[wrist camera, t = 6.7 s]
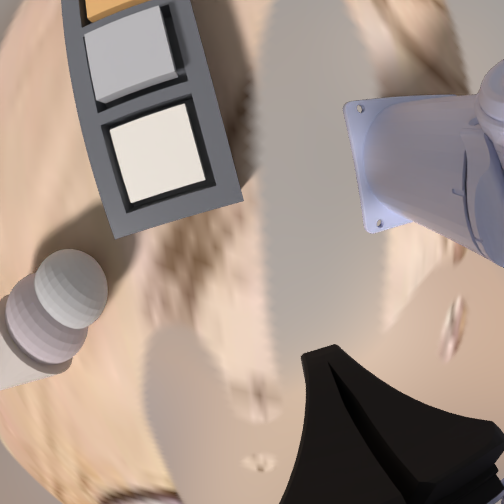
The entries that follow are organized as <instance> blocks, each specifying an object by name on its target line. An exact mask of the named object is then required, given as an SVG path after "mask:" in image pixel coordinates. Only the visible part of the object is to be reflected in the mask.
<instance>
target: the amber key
mask: <svg viewBox="0 0 504 504" xmlns="http://www.w3.org/2000/svg"><path fill="white" fill-rule="evenodd" d="M85 1H86V10H87V18H88V19H89V20H90V21H91V22H92V23H94V22H96V21H98V20H100V19H103V18H105V17H107V16H110V15H112V14H114V13H117V12H119V11H122V10H125V9H127V8H130V7H133V6H135V5H138V4H141V3H144V2H147V1H150V0H85Z"/></svg>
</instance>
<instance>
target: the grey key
mask: <svg viewBox="0 0 504 504" xmlns="http://www.w3.org/2000/svg"><path fill="white" fill-rule="evenodd" d="M84 36H85V43H86V49H87V55H88V61H89V66H90V72H91V77H92V82H93V87H94V91H95V96H96V100H97V101H100V102H103V103H108V102H110V101H113V100H115V99H118V98H120V97H123V96H125V95H128V94H130V93H133V92H136V91H139V90H141V89H144V88H147V87H150V86H153V85H156V84H159V83H162V82H165V81H168V80H171V79H174V78H177V77H178V74H177V70H176V66H175V62H174V58H173V54H172V50H171V46H170V42H169V38H168V34H167V30H166V26H165V22H164V18H163V14H162V12H161V9H160V7H159V5H158V6H155V7H152V8H149V9H146V10H143V11H140V12H137V13H135V14H132V15H129V16H126V17H124V18H121V19H119V20H116V21H114V22H111V23H109V24H107V25H104V26H102V27H100V28H97V29H95V30H93V31H91V32H89V33H86V34H84Z"/></svg>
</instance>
